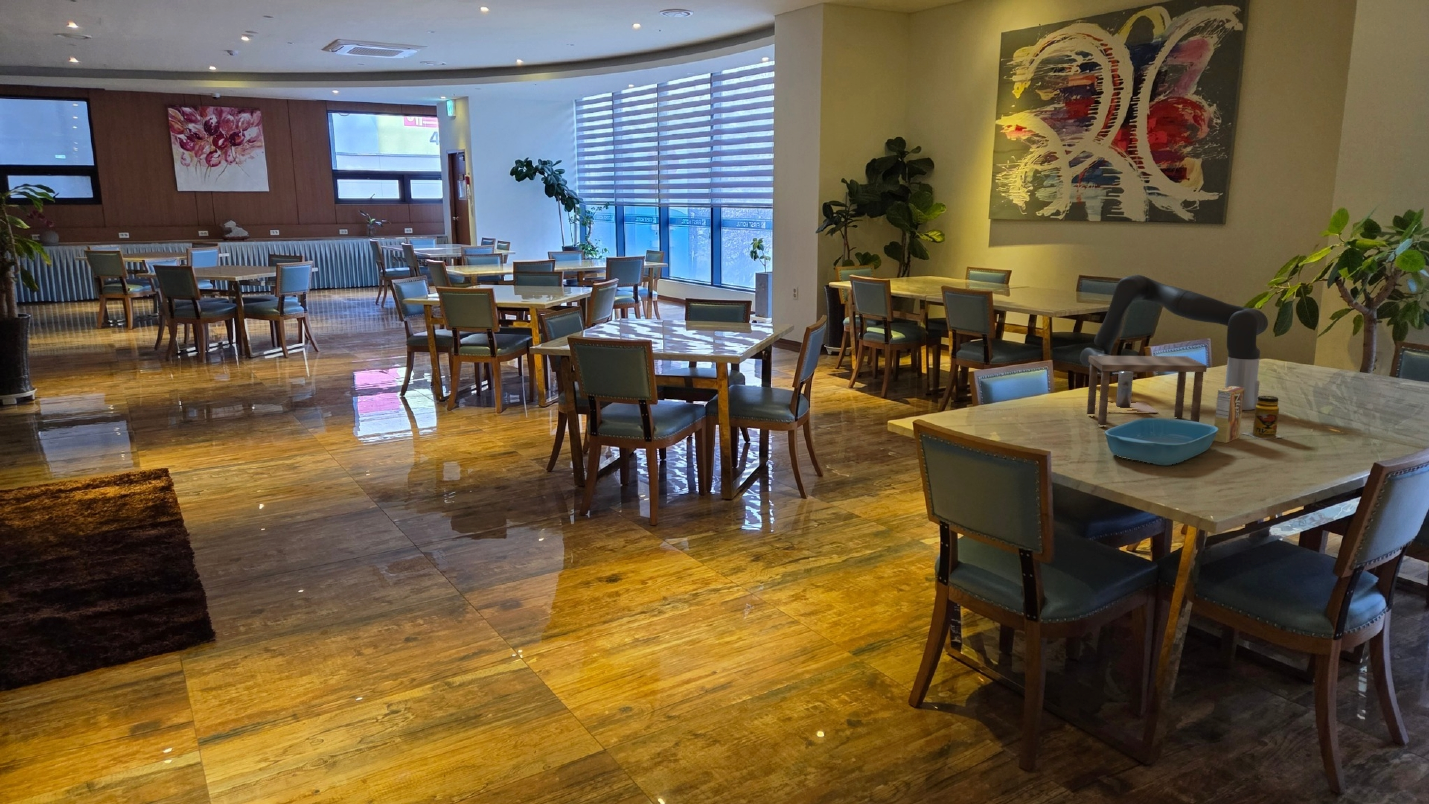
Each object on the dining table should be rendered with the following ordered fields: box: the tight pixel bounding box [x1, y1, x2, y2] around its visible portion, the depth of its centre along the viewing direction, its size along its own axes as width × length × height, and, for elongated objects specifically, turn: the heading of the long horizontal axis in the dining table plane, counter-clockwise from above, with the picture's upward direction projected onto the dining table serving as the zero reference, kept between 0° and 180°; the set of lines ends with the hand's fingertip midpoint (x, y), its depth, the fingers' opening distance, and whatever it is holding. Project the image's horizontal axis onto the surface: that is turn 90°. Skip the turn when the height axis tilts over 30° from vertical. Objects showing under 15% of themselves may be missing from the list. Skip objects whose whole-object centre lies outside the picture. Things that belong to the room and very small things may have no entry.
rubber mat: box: [1127, 401, 1159, 414], centre depth 313 cm, size 18×16×1 cm
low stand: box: [1086, 355, 1208, 426], centre depth 290 cm, size 30×18×20 cm, turn 81°
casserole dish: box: [1104, 417, 1218, 466], centre depth 256 cm, size 37×22×7 cm, turn 132°
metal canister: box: [1115, 371, 1134, 408], centre depth 311 cm, size 4×4×12 cm
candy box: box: [1213, 386, 1245, 444], centre depth 268 cm, size 9×4×15 cm, turn 129°
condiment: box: [1241, 395, 1282, 440], centre depth 272 cm, size 7×8×12 cm
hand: (1116, 372), depth 322 cm, fingers open, 8 cm apart
